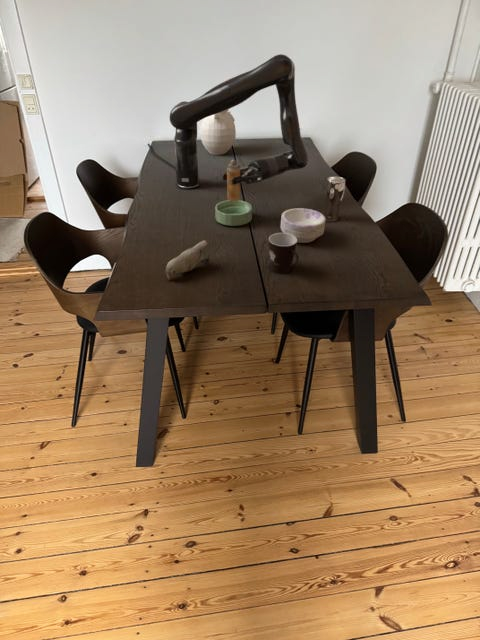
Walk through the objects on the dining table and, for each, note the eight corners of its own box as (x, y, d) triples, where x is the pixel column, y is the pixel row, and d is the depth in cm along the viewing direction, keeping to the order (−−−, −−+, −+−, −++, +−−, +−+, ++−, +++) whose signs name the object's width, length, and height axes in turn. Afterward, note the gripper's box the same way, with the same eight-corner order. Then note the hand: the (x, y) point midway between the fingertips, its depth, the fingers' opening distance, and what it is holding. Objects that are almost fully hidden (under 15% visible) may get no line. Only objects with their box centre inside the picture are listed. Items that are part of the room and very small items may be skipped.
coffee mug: (265, 261, 138) (266, 233, 132) (291, 260, 139) (294, 232, 133) (270, 281, 129) (272, 251, 123) (298, 279, 130) (301, 250, 124)
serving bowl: (208, 218, 163) (207, 205, 160) (236, 209, 170) (236, 197, 167) (230, 231, 155) (230, 218, 152) (259, 221, 162) (259, 208, 159)
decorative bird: (162, 277, 130) (159, 255, 126) (201, 258, 140) (199, 237, 135) (173, 284, 127) (171, 262, 123) (212, 264, 137) (211, 243, 132)
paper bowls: (326, 231, 156) (329, 210, 151) (318, 250, 144) (321, 228, 139) (285, 224, 159) (287, 204, 154) (274, 243, 148) (276, 221, 143)
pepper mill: (224, 198, 158) (223, 159, 149) (235, 195, 160) (234, 156, 152) (232, 202, 155) (232, 162, 146) (243, 199, 157) (243, 159, 149)
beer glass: (339, 222, 161) (346, 183, 152) (320, 221, 162) (326, 182, 153) (340, 215, 166) (346, 176, 157) (321, 213, 167) (327, 175, 158)
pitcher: (235, 157, 220) (235, 104, 205) (199, 157, 220) (196, 104, 205) (236, 147, 235) (236, 96, 219) (202, 146, 235) (200, 96, 220)
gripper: (251, 154, 162) (215, 163, 154) (277, 163, 153) (240, 174, 145) (251, 173, 167) (216, 184, 158) (276, 184, 158) (240, 195, 149)
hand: (227, 179), depth 152 cm, fingers closed on pepper mill, 5 cm apart
